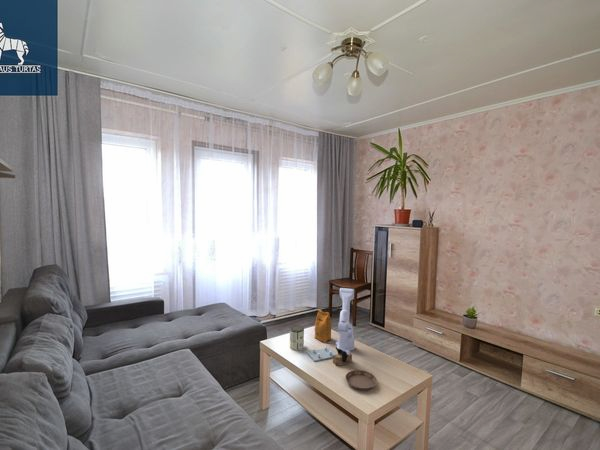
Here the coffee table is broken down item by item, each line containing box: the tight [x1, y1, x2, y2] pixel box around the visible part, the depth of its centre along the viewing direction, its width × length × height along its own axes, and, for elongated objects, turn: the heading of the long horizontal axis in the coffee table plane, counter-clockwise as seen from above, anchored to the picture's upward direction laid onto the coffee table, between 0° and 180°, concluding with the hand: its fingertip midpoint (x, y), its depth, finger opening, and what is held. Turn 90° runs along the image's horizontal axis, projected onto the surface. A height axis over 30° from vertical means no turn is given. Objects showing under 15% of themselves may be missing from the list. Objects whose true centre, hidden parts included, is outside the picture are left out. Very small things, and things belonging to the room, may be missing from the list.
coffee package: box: [314, 309, 333, 343], centre depth 217 cm, size 10×12×22 cm
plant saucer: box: [345, 369, 378, 392], centre depth 162 cm, size 18×18×3 cm
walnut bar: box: [332, 352, 353, 367], centre depth 183 cm, size 12×4×5 cm, turn 113°
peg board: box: [306, 345, 337, 363], centre depth 192 cm, size 18×12×4 cm, turn 113°
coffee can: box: [289, 324, 305, 351], centre depth 203 cm, size 10×10×14 cm
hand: (342, 360), depth 183 cm, fingers closed on walnut bar, 4 cm apart
